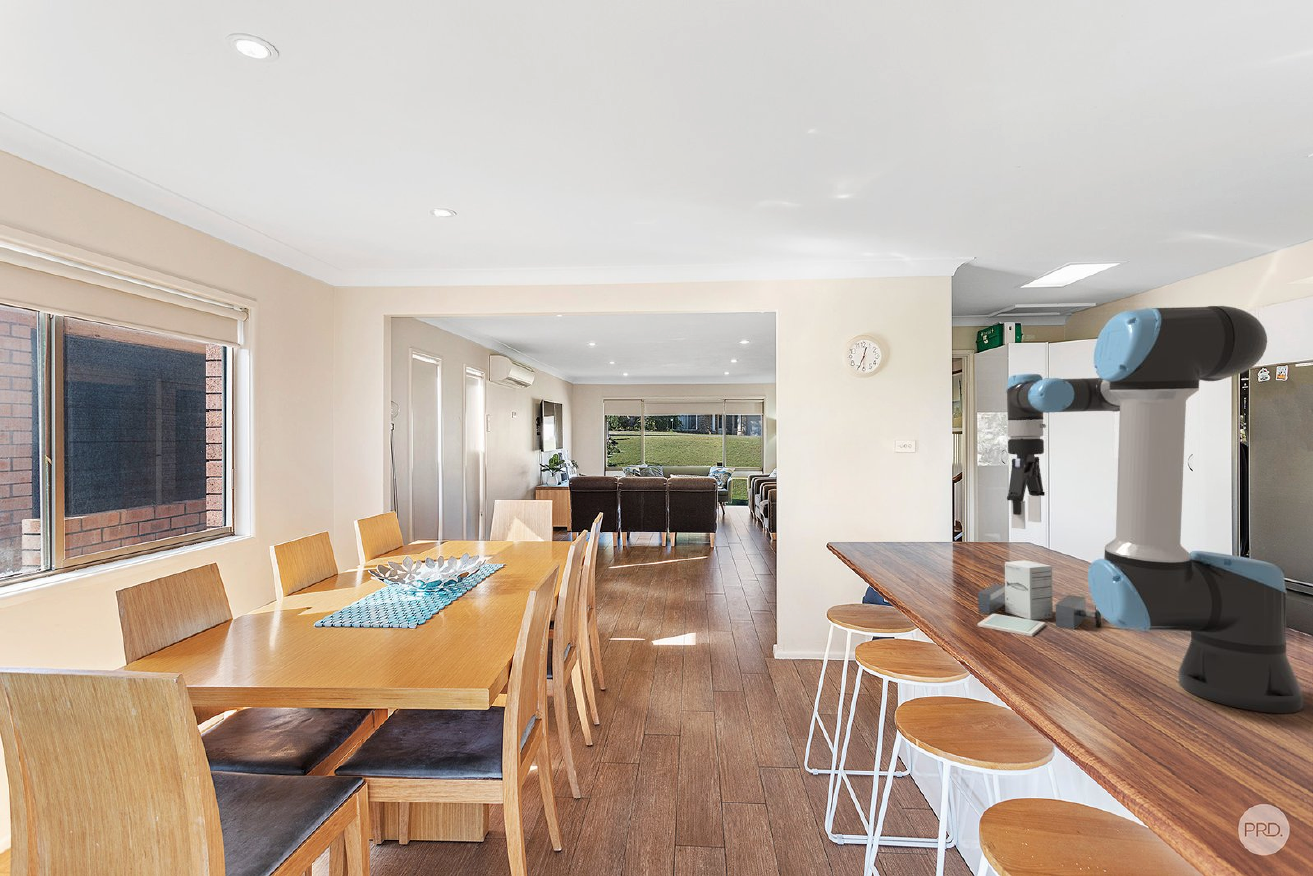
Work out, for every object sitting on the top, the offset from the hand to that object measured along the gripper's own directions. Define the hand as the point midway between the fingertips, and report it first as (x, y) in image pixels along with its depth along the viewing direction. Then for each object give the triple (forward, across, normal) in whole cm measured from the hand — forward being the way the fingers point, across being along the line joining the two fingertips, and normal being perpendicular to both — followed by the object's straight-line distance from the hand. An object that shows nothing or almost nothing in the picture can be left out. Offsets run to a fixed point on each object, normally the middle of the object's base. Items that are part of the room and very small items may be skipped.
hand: (1026, 525), depth 150 cm
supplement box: (+22, 0, 0) cm, 22 cm away
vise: (+22, 0, -3) cm, 22 cm away
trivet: (+22, -12, 0) cm, 25 cm away
